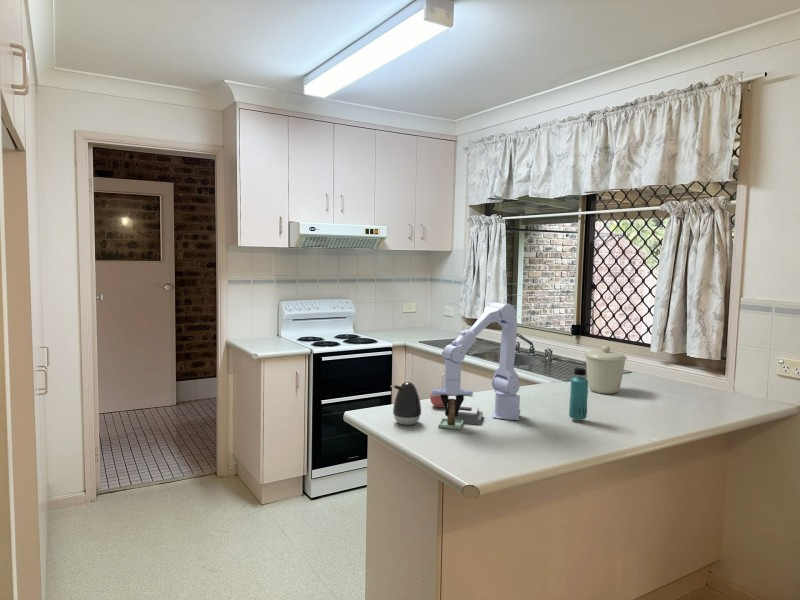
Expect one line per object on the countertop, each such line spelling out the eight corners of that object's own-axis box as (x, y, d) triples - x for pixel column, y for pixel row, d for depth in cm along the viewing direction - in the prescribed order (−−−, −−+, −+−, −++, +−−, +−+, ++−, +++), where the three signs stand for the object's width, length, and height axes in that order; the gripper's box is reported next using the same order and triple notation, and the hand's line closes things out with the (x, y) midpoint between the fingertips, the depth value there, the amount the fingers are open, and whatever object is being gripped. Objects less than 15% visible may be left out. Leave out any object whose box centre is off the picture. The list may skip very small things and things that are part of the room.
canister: (628, 390, 258) (631, 345, 256) (620, 398, 243) (623, 351, 241) (588, 384, 268) (590, 340, 266) (578, 392, 253) (580, 346, 251)
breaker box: (482, 416, 213) (482, 406, 212) (480, 424, 203) (480, 414, 203) (451, 413, 216) (451, 403, 215) (447, 421, 206) (447, 411, 206)
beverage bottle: (577, 424, 206) (580, 371, 204) (564, 419, 212) (567, 367, 210) (590, 422, 209) (593, 369, 207) (577, 417, 215) (580, 366, 213)
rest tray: (463, 423, 205) (463, 420, 204) (460, 430, 197) (460, 426, 197) (441, 421, 206) (441, 418, 206) (438, 427, 199) (438, 424, 198)
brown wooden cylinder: (456, 423, 202) (457, 399, 201) (452, 425, 200) (453, 401, 198) (449, 422, 203) (450, 398, 202) (445, 424, 201) (446, 399, 200)
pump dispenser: (388, 420, 206) (388, 379, 204) (413, 417, 210) (414, 377, 209) (398, 428, 197) (399, 386, 195) (425, 425, 201) (426, 384, 199)
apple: (447, 410, 220) (447, 390, 220) (428, 408, 222) (429, 389, 221) (449, 405, 228) (449, 385, 227) (431, 403, 229) (431, 384, 228)
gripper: (471, 376, 204) (470, 412, 205) (431, 375, 204) (430, 411, 205) (474, 380, 197) (472, 418, 198) (432, 380, 197) (431, 417, 198)
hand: (451, 415), depth 201 cm, fingers open, 3 cm apart
